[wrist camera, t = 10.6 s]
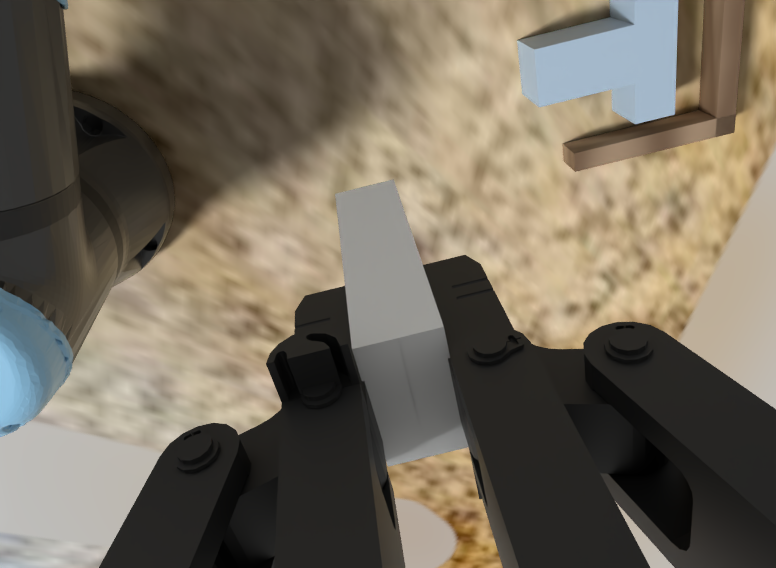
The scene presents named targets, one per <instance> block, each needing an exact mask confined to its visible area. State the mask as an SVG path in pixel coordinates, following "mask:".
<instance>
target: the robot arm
mask: <svg viewBox="0 0 776 568" xmlns="http://www.w3.org/2000/svg"><path fill="white" fill-rule="evenodd" d="M63 9H68V1H67V0H0V437H2V436H5V435H7V434H9V433H12V432H14V431H16V430H17V429H18V428H19V427H20V426H23V425H25V424H26V423H27V422H28V421H31V420H32V419H34V418H35V417H36V416H37V415H38V414H39V413H40V412H41V411H42V410H43V409H44V407H45V406H46V405H47V403H48V402H49V401H50V399H51V398H52V397H53V395H54V394H55V393H56V391H57V390H58V389H59V387H61V386H62V385H63V384H64V382H65V380H66V379H67V378H68V376H69V375H70V372H71V370H72V363H73V361H74V359H75V358H76V356H77V354H78V352H79V350H80V348H81V346H82V344H83V342H84V340H85V338H86V336H87V334H88V332H89V331H90V329H91V327H92V325H93V323H94V321H95V319H96V317H97V315H98V313H99V311H100V309H101V307H102V305H103V303H104V302H105V300H106V298H107V296H108V294H109V292H110V290H111V288H112V287H114V286H115V285H117V284H119V283H121V282H122V281H124V280H126V279H128V278H130V277H131V276H133V275H135V274H136V273H138V272H139V271H140V270H142V269H143V268H144V267H145V266H146V265H147V264H148V263H149V262H150V261H151V260H152V259H153V258H154V256H155V255H156V254H157V252H158V251H159V249H160V248H161V246H162V244H163V242H164V240H165V238H166V235H167V233H168V231H169V228H170V226H171V223H172V219H173V215H174V207H175V196H174V187H173V182H172V178H171V175H170V172H169V169H168V167H167V164H166V162H165V160H164V158H163V156H162V155H161V153H160V151H159V150H158V148H157V147H156V145H155V144H154V142H153V141H152V140H151V138H150V137H149V136H148V135H147V134H146V133H145V132H144V131H143V130H142V129H141V128H140V127H139V126H138V125H137V124H136V123H135V122H134V121H133V120H131V119H130V118H129V117H128V116H126V115H125V114H123V113H122V112H121V111H119V110H117V109H116V108H114V107H113V106H111V105H109V104H107V103H105V102H103V101H101V100H99V99H96V98H94V97H91V96H88V95H85V94H82V93H79V92H74V91H72V90H71V80H70V70H69V61H68V51H67V41H66V32H65V22H64V13H63ZM335 196H336V205H337V215H338V224H339V233H340V243H341V252H342V261H343V271H344V280H345V286H343V287H339V288H335V289H331V290H327V291H323V292H319V293H315V294H311V295H306V296H305V297H304V298H303V300H302V301H301V303H300V304H299V306H298V308H297V309H296V311H295V335H292V336H290V337H289V338H287V339H286V340H284V341H283V342H281V343H279V344H278V345H277V347H276V348H275V349H274V350H273V351H272V352H271V353H270V355H269V358H268V360H267V363H266V365H267V367H268V370H269V372H270V375H271V377H272V380H273V382H274V385H275V387H276V389H277V392H278V394H279V397H280V399H281V402H282V409H281V410H280V411H279V412H278V413H276V414H275V415H274V416H273V417H272V418H270V419H269V420H267V421H265V422H264V423H262V424H260V425H258V426H256V427H254V428H252V429H250V430H248V431H246V432H244V433H242V434H240V435H238V434H237V431H236V430H235V429H233V428H232V427H230V426H229V425H227V424H219V423H211V424H206V425H202V426H198V427H196V428H194V429H191V430H189V431H187V432H185V433H183V434H182V435H180V436H179V437H178V438H177V439H175V440H174V441H173V442H172V443H170V444H169V445H168V447H167V448H166V449H165V451H164V452H163V453H162V455H161V456H160V457H159V459H158V461H157V463H156V465H155V467H154V469H153V470H152V472H151V474H150V476H149V477H148V479H147V481H146V483H145V485H144V487H143V488H142V490H141V492H140V494H139V496H138V497H137V499H136V501H135V503H134V505H133V507H132V508H131V510H130V512H129V514H128V516H127V518H126V519H125V521H124V523H123V525H122V527H121V528H120V530H119V532H118V534H117V536H116V538H115V539H114V541H113V543H112V545H111V547H110V548H109V550H108V552H107V554H106V556H105V558H104V559H103V561H102V563H101V565H100V567H99V568H405V562H404V557H403V550H402V543H401V537H400V531H399V524H398V518H397V511H396V505H395V498H394V492H393V488H392V485H391V481H390V478H389V475H388V472H387V466H386V462H387V465H388V466H392V465H396V464H401V463H405V462H409V461H413V460H417V459H421V458H425V457H429V456H434V455H438V454H442V453H446V452H450V451H454V450H458V449H463V448H467V447H468V446H469V450H470V455H471V460H472V465H473V469H474V474H475V479H476V484H477V489H478V494H479V499H483V503H484V506H485V509H486V513H487V516H488V519H489V523H490V526H491V529H492V532H493V536H494V539H495V542H496V546H497V549H498V552H499V556H500V559H501V562H502V566H503V568H650V566H649V564H648V563H647V561H646V559H645V557H644V555H643V553H642V551H641V549H640V547H639V546H638V544H637V542H636V540H635V538H634V536H633V534H632V533H631V530H630V529H629V527H628V525H627V523H626V521H625V519H624V517H623V515H622V514H621V512H620V510H619V508H618V506H617V504H616V502H617V503H618V505H619V506H620V507H621V508H622V509H623V510H624V511H625V512H626V513H627V515H628V516H629V517H630V518H631V519H632V520H633V521H634V522H635V524H636V525H637V526H638V527H639V528H640V529H641V530H642V532H643V533H644V534H645V535H646V536H647V537H648V538H649V539H650V540H651V542H652V543H653V544H654V545H655V546H656V547H657V548H658V549H659V551H660V552H661V553H662V554H663V555H664V556H665V557H666V558H667V560H668V561H669V562H670V563H671V564H672V565H673V566H674V567H675V568H776V409H775V408H773V407H771V406H770V405H769V404H767V403H766V402H764V401H763V400H762V399H760V398H759V397H757V396H756V395H754V394H753V393H752V392H750V391H749V390H747V389H746V388H744V387H743V386H741V385H740V384H739V383H737V382H736V381H734V380H733V379H731V378H730V377H728V376H727V375H726V374H724V373H723V372H721V371H720V370H718V369H717V368H715V367H714V366H713V365H711V364H710V363H708V362H707V361H705V360H704V359H702V358H701V357H700V356H698V355H697V354H695V353H694V352H692V351H691V350H689V349H688V348H687V347H685V346H684V345H682V344H681V343H680V342H678V341H677V340H675V339H674V338H672V337H671V336H669V335H668V334H667V333H665V332H663V331H661V330H659V329H657V328H655V327H653V326H651V325H647V324H642V323H637V322H616V323H612V324H608V325H604V326H601V327H599V328H598V329H596V330H595V331H593V332H591V333H590V334H589V335H588V337H587V338H586V340H585V342H584V343H583V344H584V349H548V348H543V347H538V346H535V345H533V344H531V342H530V341H529V340H528V339H527V338H526V337H525V336H524V334H523V333H520V332H518V331H516V330H514V328H513V327H512V325H511V323H510V321H509V319H508V317H507V315H506V313H505V311H504V309H503V307H502V305H501V303H500V301H499V299H498V297H497V295H496V293H495V291H493V288H492V286H491V284H490V282H489V280H488V279H487V276H486V274H485V272H484V270H483V268H482V266H481V264H480V263H478V262H476V261H475V260H473V259H471V258H469V257H468V256H466V255H463V256H458V257H454V258H450V259H446V260H442V261H438V262H434V263H430V264H426V265H423V264H422V261H421V258H420V255H419V253H418V250H417V247H416V244H415V241H414V238H413V235H412V232H411V229H410V226H409V223H408V220H407V217H406V215H405V212H404V209H403V206H402V203H401V200H400V197H399V194H398V191H397V188H396V185H395V182H394V179H393V180H389V181H385V182H381V183H377V184H373V185H369V186H365V187H361V188H357V189H353V190H349V191H345V192H341V193H337V194H335ZM385 458H386V459H385ZM615 501H616V502H615Z"/></svg>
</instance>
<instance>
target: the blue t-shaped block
mask: <svg viewBox="0 0 776 568" xmlns="http://www.w3.org/2000/svg"><path fill="white" fill-rule="evenodd" d="M677 26H678V0H610V17H609V18H605V19H600V20H596V21H592V22H588V23H584V24H580V25H576V26H572V27H568V28H564V29H560V30H556V31H552V32H548V33H544V34H540V35H536V36H532V37H528V38H524V39H520V40H517V44H518V54H519V65H520V75H521V85H522V94H523V95H524V96H525V97H527V98H528V99H529V100H530V101H532V102H533V103H534V104H536V105H537V106H538V107H542V106H546V105H551V104H555V103H559V102H563V101H567V100H571V99H575V98H579V97H583V96H587V95H591V94H595V93H599V92H603V91H607V90H611V89H612V111H614V112H616V113H617V114H619V115H621V116H622V117H624V118H626V119H627V120H629V121H630V122H632V123H634V124H638V123H642V122H646V121H651V120H655V119H659V118H663V117H667V116H671V115H675V93H676V59H677Z"/></svg>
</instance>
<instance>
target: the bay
mask: <svg viewBox="0 0 776 568" xmlns="http://www.w3.org/2000/svg"><path fill="white" fill-rule="evenodd" d="M744 7H745V0H704V20H703V40H702V60H701V80H700V100H699V110H697V111H693V112H689V113H685V114H681V115H677V116H673V117H669V118H665V119H661V120H657V121H653V122H649V123H645V124H641V125H637V126H633V127H629V128H625V129H621V130H616V131H612V132H608V133H604V134H600V135H596V136H592V137H588V138H584V139H580V140H576V141H572V142H568V143H564V144H563V156H564V162H565V163H566V164H567V165H569V166H570V167H571V168H572V169H573V170H574V171H575V172H576V171H580V170H584V169H588V168H592V167H596V166H600V165H604V164H609V163H613V162H617V161H621V160H625V159H629V158H633V157H637V156H641V155H645V154H649V153H653V152H657V151H661V150H665V149H669V148H673V147H678V146H682V145H686V144H690V143H694V142H698V141H702V140H706V139H710V138H714V137H718V136H722V135H726V134H730V133H734V130H735V117H736V105H737V93H738V81H739V68H740V56H741V44H742V31H743V19H744Z"/></svg>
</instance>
